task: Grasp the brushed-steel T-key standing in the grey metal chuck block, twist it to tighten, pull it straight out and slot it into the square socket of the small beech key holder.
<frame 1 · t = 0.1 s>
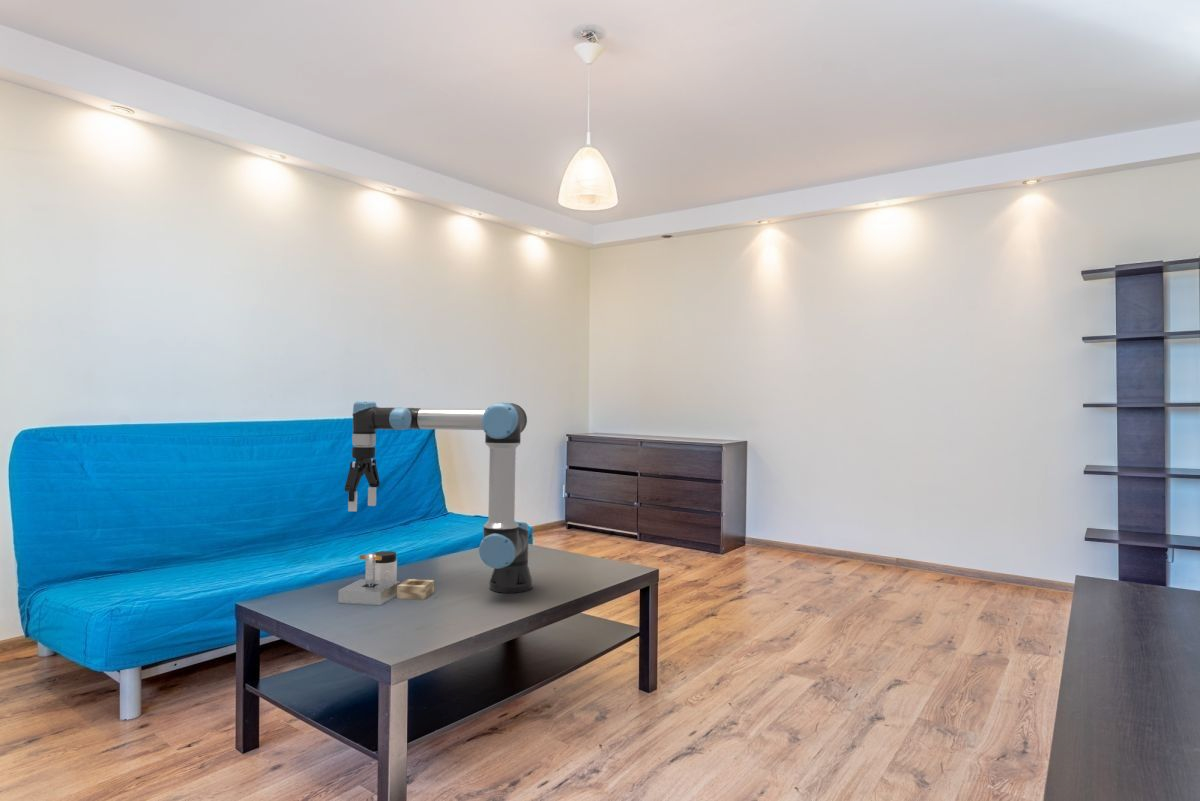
hand: (362, 508, 230), 28 cm above the table, fingers open, 13 cm apart
holder: (415, 598, 221), on the table
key: (369, 598, 217), point 1 cm above the table, touching chuck block
jar: (383, 588, 233), on the table
chuck block: (369, 601, 217), on the table
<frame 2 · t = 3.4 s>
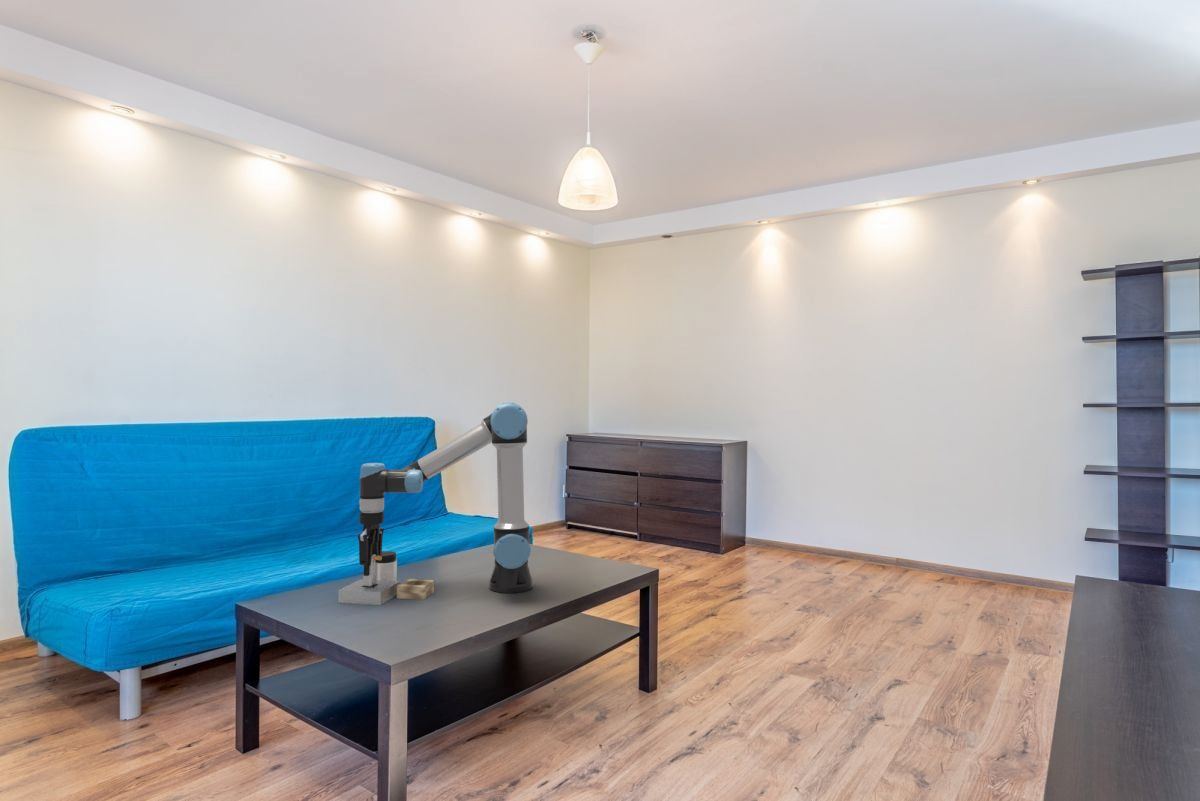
hand: (370, 583, 217), 6 cm above the table, fingers closed on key, 3 cm apart
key: (369, 597, 217), point 1 cm above the table, touching chuck block, gripper
everything else where it was.
when the fingers open (7 cm above the table, at t = 9.9 s): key stays where it is, resting on holder.
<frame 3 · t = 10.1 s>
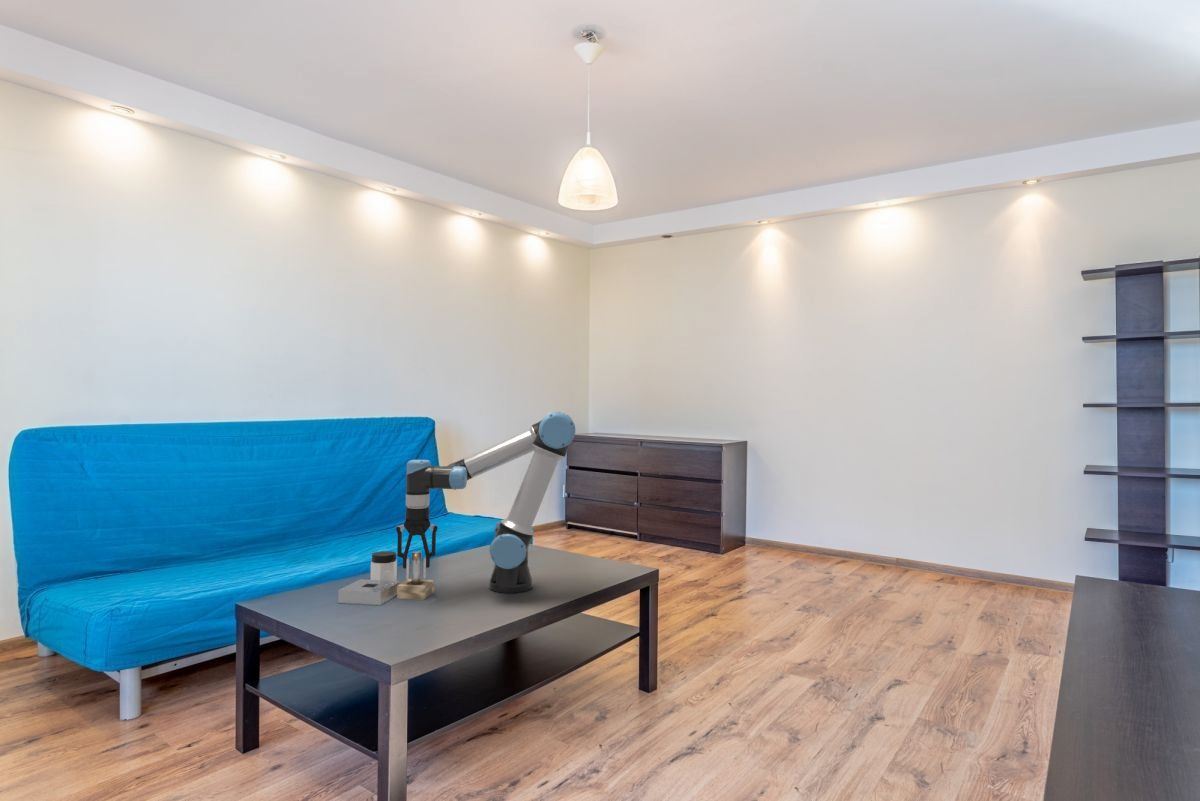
hand: (416, 577, 221), 7 cm above the table, fingers open, 5 cm apart
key: (415, 595, 221), point 1 cm above the table, touching holder
everything else where it was.
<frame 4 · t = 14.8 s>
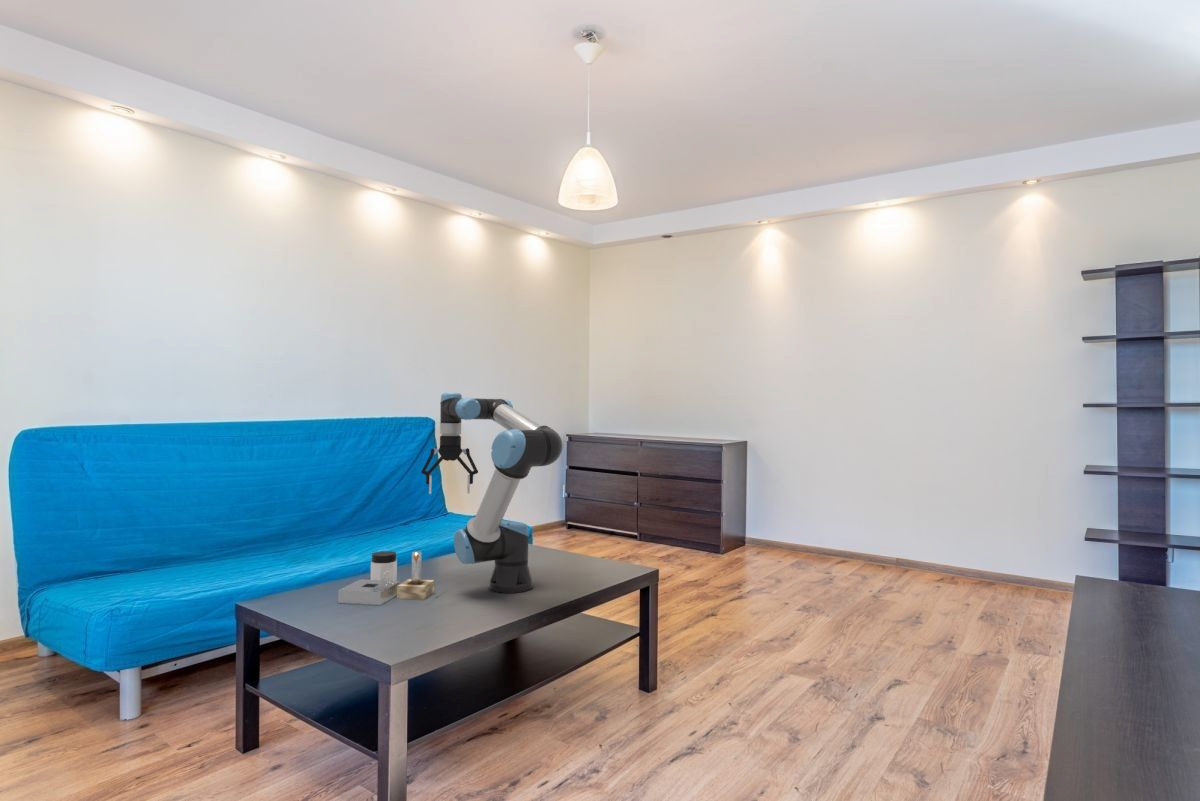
hand: (449, 493, 245), 32 cm above the table, fingers open, 13 cm apart
nothing on the table moved.
at the end: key 0.0 cm off-centre on the holder, point 1.0 cm above the holder's base; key tilted 0°; the gripper is holding nothing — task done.
